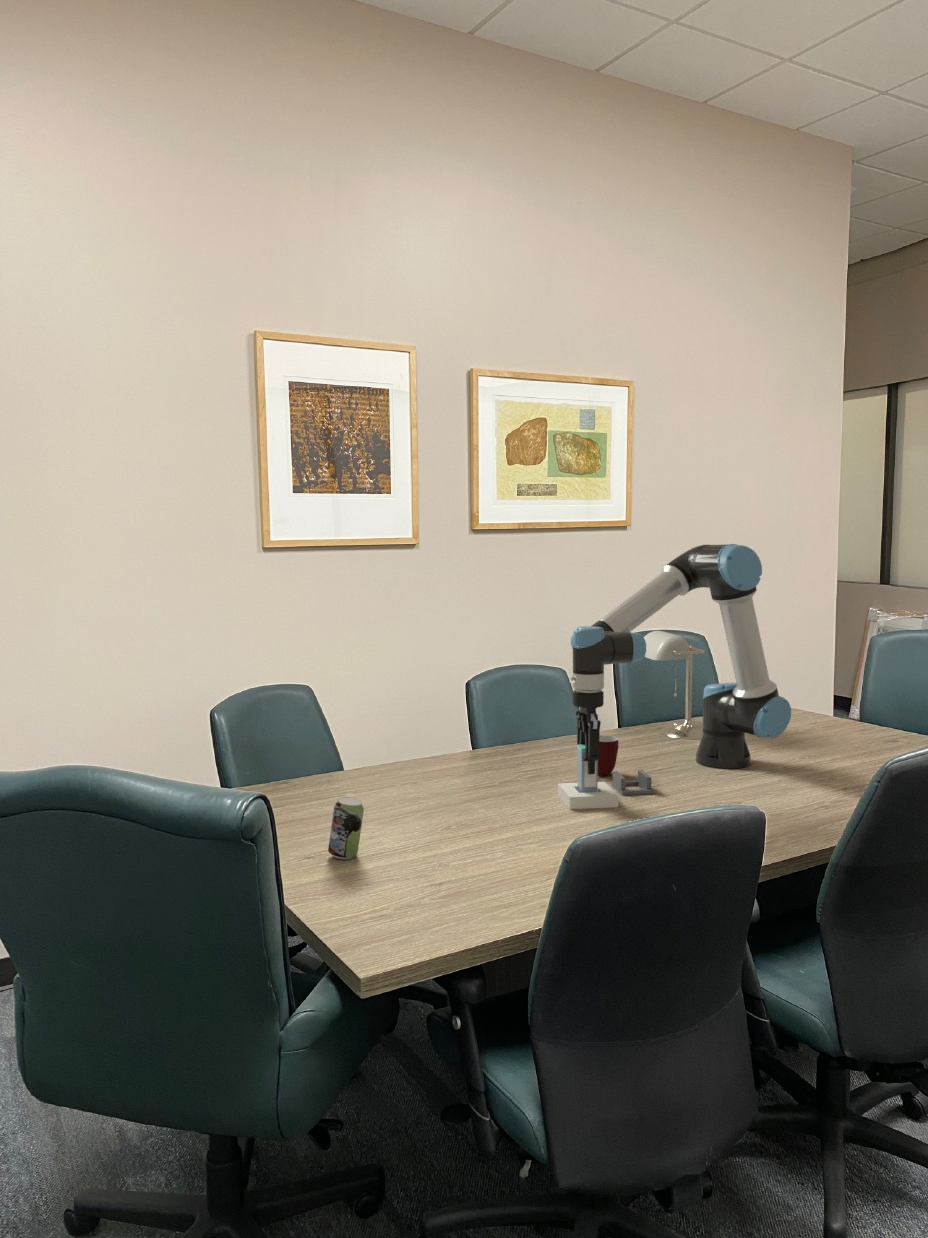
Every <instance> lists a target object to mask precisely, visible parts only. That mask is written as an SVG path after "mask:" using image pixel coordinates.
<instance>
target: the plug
mask: <svg viewBox="0 0 928 1238" xmlns="http://www.w3.org/2000/svg"><path fill="white" fill-rule="evenodd" d="M576 753H577V755H576V757H577V759H576V760H577V761H576V762H577V767H576V768H577V775H576V777H577V779H576V781H577V782H576V783H577V791H578V792H579V793H587V792H597V785H598V782H599V781H598V777H599V775H598V760H597V761H596V787H585V786H584V771H585V761H583V759H586V749H585V744H581V745H577V744H576Z"/></svg>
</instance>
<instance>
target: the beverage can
mask: <svg viewBox="0 0 928 1238" xmlns="http://www.w3.org/2000/svg"><path fill="white" fill-rule="evenodd" d="M364 811H365V809H364V805H363V802H362V800H360V799H358V798H355V797H350V796H346V797H345V796H344V797H339V798H337V802H335V804H334V805H333V812H332V819H331V820H332V821H331V826H330V827H331V828H330V834H329V835H330V836H329V841H328V848H327V851H328V853H329V854H331V856H332V857H333V858H336V859H339V860H350V859H352V858H353V857H356V855H358V853H359V845H360V839H361V833H362V825H363V817H364Z"/></svg>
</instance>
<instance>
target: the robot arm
mask: <svg viewBox="0 0 928 1238" xmlns="http://www.w3.org/2000/svg"><path fill="white" fill-rule="evenodd" d="M762 574H763V566H762V561H761V559H760V557H759V556H758V554H757V552H756V551H755V550H754V549H752V548H750V547H749V546H747V545H741V544H740V545H739V544H736V543H731V544H729V543H728V544H701V545H698V546H694V547H692V548H690V549H688V550H686V551H685V552H682V553H681V554H680V555H678V556H677V557H675V558H673V559H672V560H671V561H669V563H667V564H666V565H664V566H663V567H662V568H661V573H660V574H658V575H657V576H656V577H654V578H653V579H652V580H651V581H649V582H648V583H646V584H645V585H644V586H642V587H641V588H640V589H639V590H637V591H635V593H633V594H631V595H630V596H629V597H628V598H627V599H625V600H624V601H622V602H621V603H620V604H619V605H617V606H616V607H614V608H613V609H612V610H610V611H609V612H608V613H607V614H605V615H604V616H603V617H601V618H600V619H599V620H597V621H596V622H595V623H593V624H592V625H591V626H590V625H589V626H587V625H585V626H577V627H575V628H574V629H573V632H572V635H571V636H570V646H571V648H572V676H571V677H570V681H571V682H572V688H573V689H574V690H573V691H572V706H573V707H576V708H579V710H576V711H575V715H576V716H575V717H576V746H577V745H581V744H585V749H586V759H583V761H585V771H584V786H585V787H596V761H597V760H599V737H600V736H601V735H600V730H601V723H602V722H601V719H600V720H599V715H598V714H597V710H596V709H597V708H601V707H603V706H604V691H603V689H604V688H605V671H604V670H605V665H615V664H617V665H618V664H632V663H636V662H640V661H642V660H643V659H644V658H645V657H644V656H645V654H646V642H645V639H644V637H645V636H643V635H642V634H641V633H639V632H632V631H633V630H635V629H636V628H637V627H639V626H640V625H642V623H644V622H645V621H647V620H648V619H649V618H650V617H652V616H653V615H654V614H656V613H657V612H658V611H660V610H661V609H662V608H663V607H664V606H666V605H667V604H669V603H670V602H672V601H673V600H674V599H676V598H677V596H686V595H687V594H688V593H689V592H691V591H693V590H697V589H700V588H706V589H709V591H710V595H711V600H712V601H714V602H715V603H717V604H718V606H719V609H720V614H721V619H722V623H723V627H724V632H725V637H726V641H727V646H728V650H729V656H730V659H731V665H732V668H733V673H734V678H735V682H721V683H710V684H707V685H706V686H704V688H703V696H702V723H703V735H702V738H701V739H700V741H699V744H698V746H697V750H696V753H695V761H696V763H698V764H700V765H703V766H706V767H711V768H716V769H717V768H718V769H742V768H746V767H748V766H750V765H751V759H752V758H751V753H750V750H749V747H748V743H747V741H746V737H745V736H746V735H745V733H746V734H749V735H752V736H756V737H758V738H766V739H773V738H777V737H779V736H780V735H782V733H784V732H785V731H786V729H787V728H788V725H789V724H790V722H791V718H792V707H791V704H790V702H789V701H788V700H787V699H786V698H785V697H783V696H780V695H779V691H778V686H777V684H776V682H774V681H772V680H771V679H770V677H769V671H768V667H767V662H766V661H767V660H766V656H765V651H764V647H763V643H762V638H761V633H760V628H759V624H758V618H757V613H756V610H755V604H754V600H753V599H754V598H753V597H754V595H755V594H756V593H757V590H758V589H757V586H758V585H759V583H760V581H761V576H762Z"/></svg>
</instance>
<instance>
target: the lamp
mask: <svg viewBox="0 0 928 1238" xmlns="http://www.w3.org/2000/svg"><path fill="white" fill-rule="evenodd" d="M643 637H644V639H645V642H646V654H645V656H644V658H646V659H650V660H651V661H671V660H672V661H673V660H674V661H675V674H677V673H678V672H677V669H678V668H677V662H678V660H685V714H684V715H685V717H684V719H678V720H674V721H673V722H672V723H671V724H669V725H667V726H665V727H664V728H662V729H661V731H660V734H661V735H663V736H666V737H668V738H672V739H673V738H674V739H681V740H701V738H702V735H703V721H699V720H695V719H692V701H693V700H692V697H693V696H692V695H693V694H692V692H693V690H692V689H693V688H692V687H693V655H696V654H697V655H703V654H705V652H706V651H705V650H703V649H700V648H697V647H693V645H692V644H688V641H687V640H686V639H685V638H684V637H682V636H681V635H677V634H674V633H671V632H666V631H664V630H654V631H650V632H648V633H647V634H646V635H644V636H643ZM674 685H675V686H674V687H675V688H674V689H675V690H677V680H675V684H674ZM673 697H674V698H677V697H678V693H674V694H673Z"/></svg>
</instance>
